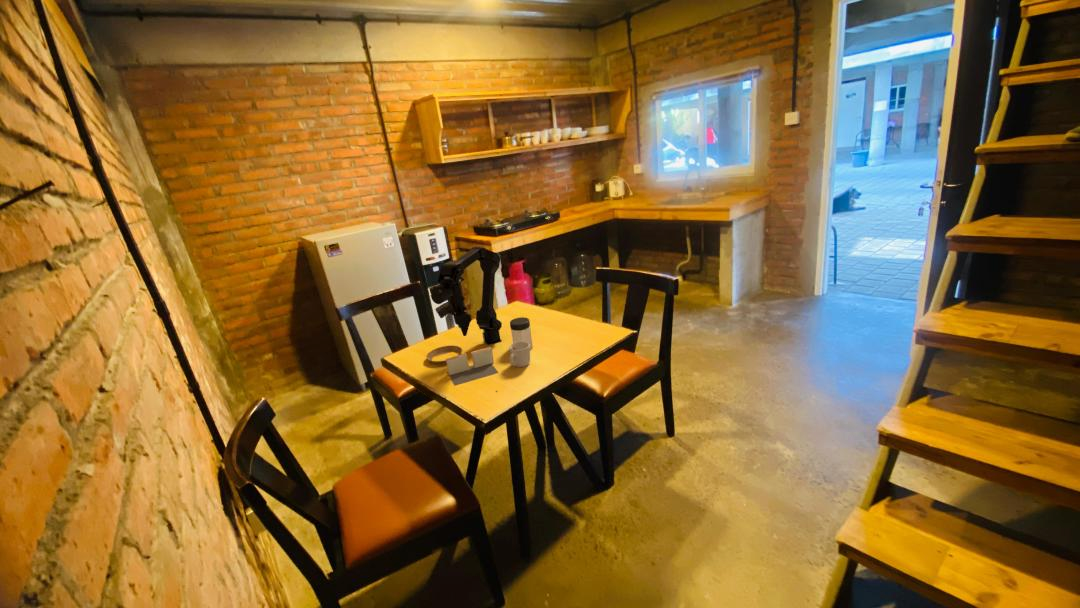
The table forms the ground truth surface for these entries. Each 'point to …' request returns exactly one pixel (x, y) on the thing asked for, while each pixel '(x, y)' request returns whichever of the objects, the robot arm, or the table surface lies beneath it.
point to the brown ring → (443, 351)
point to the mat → (473, 374)
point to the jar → (521, 330)
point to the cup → (520, 354)
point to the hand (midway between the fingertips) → (462, 331)
